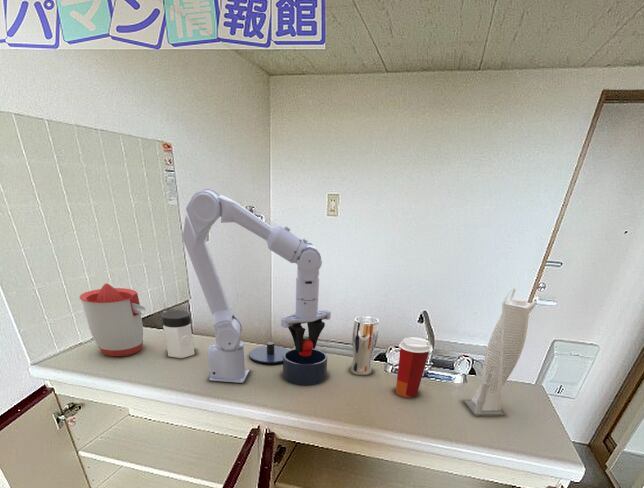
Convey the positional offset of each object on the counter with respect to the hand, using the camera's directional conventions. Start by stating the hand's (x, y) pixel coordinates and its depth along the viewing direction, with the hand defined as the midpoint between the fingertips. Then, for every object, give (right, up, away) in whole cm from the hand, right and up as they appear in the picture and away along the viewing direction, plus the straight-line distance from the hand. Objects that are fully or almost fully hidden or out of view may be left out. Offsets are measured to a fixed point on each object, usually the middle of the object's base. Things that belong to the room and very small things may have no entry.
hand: (305, 349), depth 110 cm
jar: (-39, +3, +16) cm, 42 cm away
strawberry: (0, -1, +1) cm, 1 cm away
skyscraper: (+45, -17, -8) cm, 49 cm away
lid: (-11, +2, +15) cm, 19 cm away
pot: (0, -6, +5) cm, 8 cm away
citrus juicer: (-57, +4, +17) cm, 59 cm away
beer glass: (+16, -5, +8) cm, 19 cm away
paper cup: (+27, -12, -3) cm, 30 cm away
